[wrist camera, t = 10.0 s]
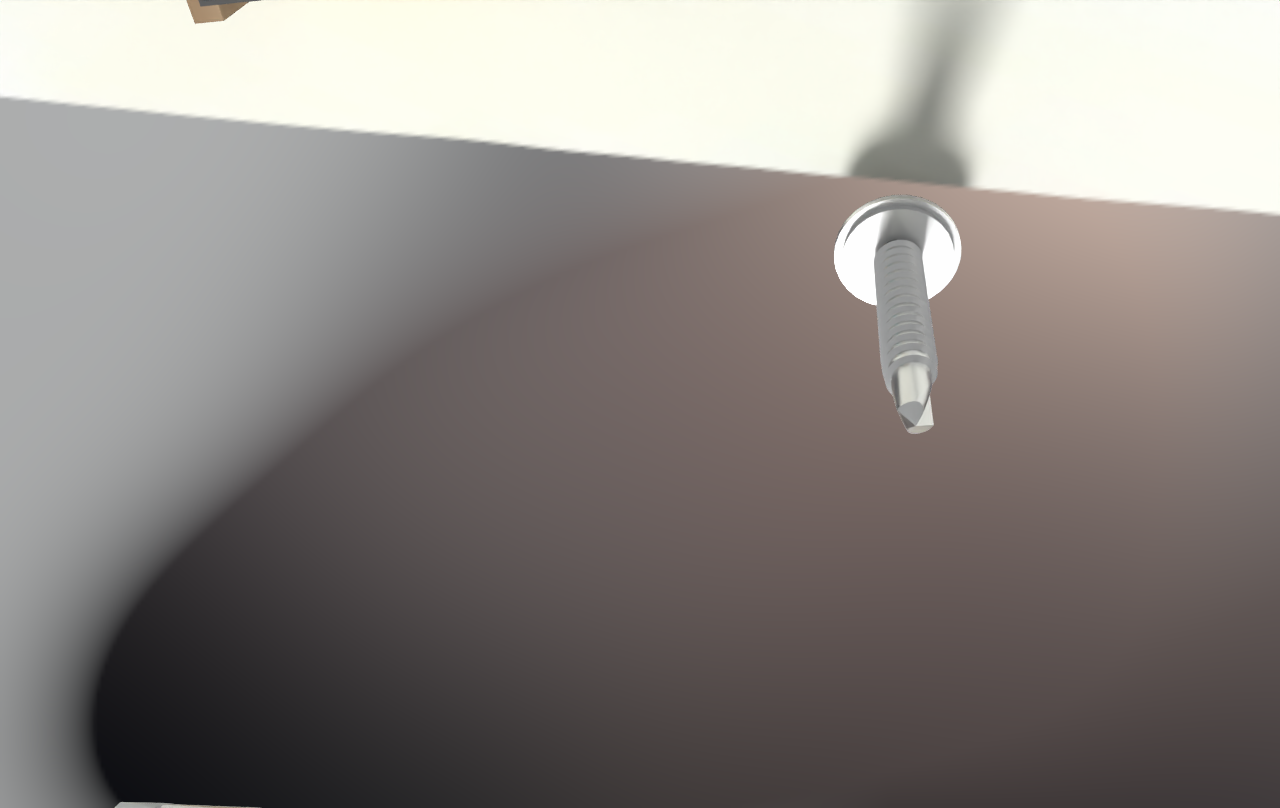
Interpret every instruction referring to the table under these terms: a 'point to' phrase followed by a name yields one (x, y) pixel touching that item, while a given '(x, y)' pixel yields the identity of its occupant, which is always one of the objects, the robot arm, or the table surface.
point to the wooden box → (212, 11)
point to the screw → (901, 289)
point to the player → (220, 2)
